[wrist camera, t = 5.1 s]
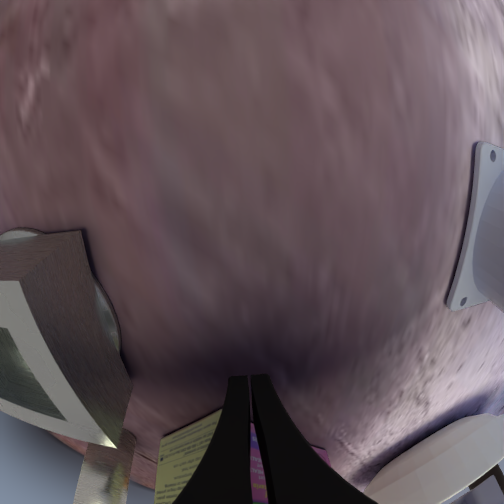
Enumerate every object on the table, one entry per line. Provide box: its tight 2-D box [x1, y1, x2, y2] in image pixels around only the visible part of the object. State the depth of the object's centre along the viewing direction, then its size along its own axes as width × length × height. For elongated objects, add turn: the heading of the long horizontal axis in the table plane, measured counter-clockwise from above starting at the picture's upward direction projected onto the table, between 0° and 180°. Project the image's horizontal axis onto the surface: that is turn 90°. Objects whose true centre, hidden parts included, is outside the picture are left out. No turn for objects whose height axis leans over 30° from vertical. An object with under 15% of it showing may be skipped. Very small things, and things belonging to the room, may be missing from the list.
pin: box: [73, 428, 136, 504], centre depth 10 cm, size 3×3×7 cm
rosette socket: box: [0, 228, 133, 448], centre depth 7 cm, size 8×8×4 cm
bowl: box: [363, 413, 504, 504], centre depth 16 cm, size 20×20×8 cm
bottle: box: [468, 464, 504, 495], centre depth 19 cm, size 7×7×20 cm
